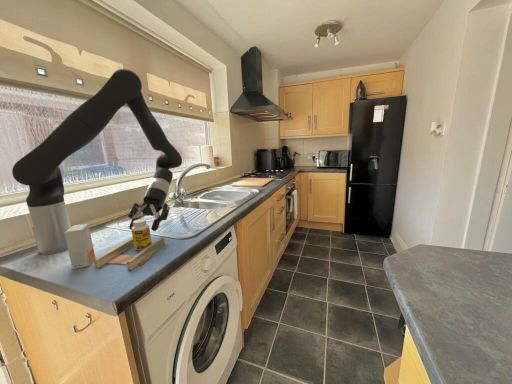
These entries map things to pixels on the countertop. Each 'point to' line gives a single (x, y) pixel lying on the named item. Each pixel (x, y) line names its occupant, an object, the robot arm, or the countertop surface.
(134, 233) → the supplement bottle
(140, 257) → the guide channel
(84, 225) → the skincare box
